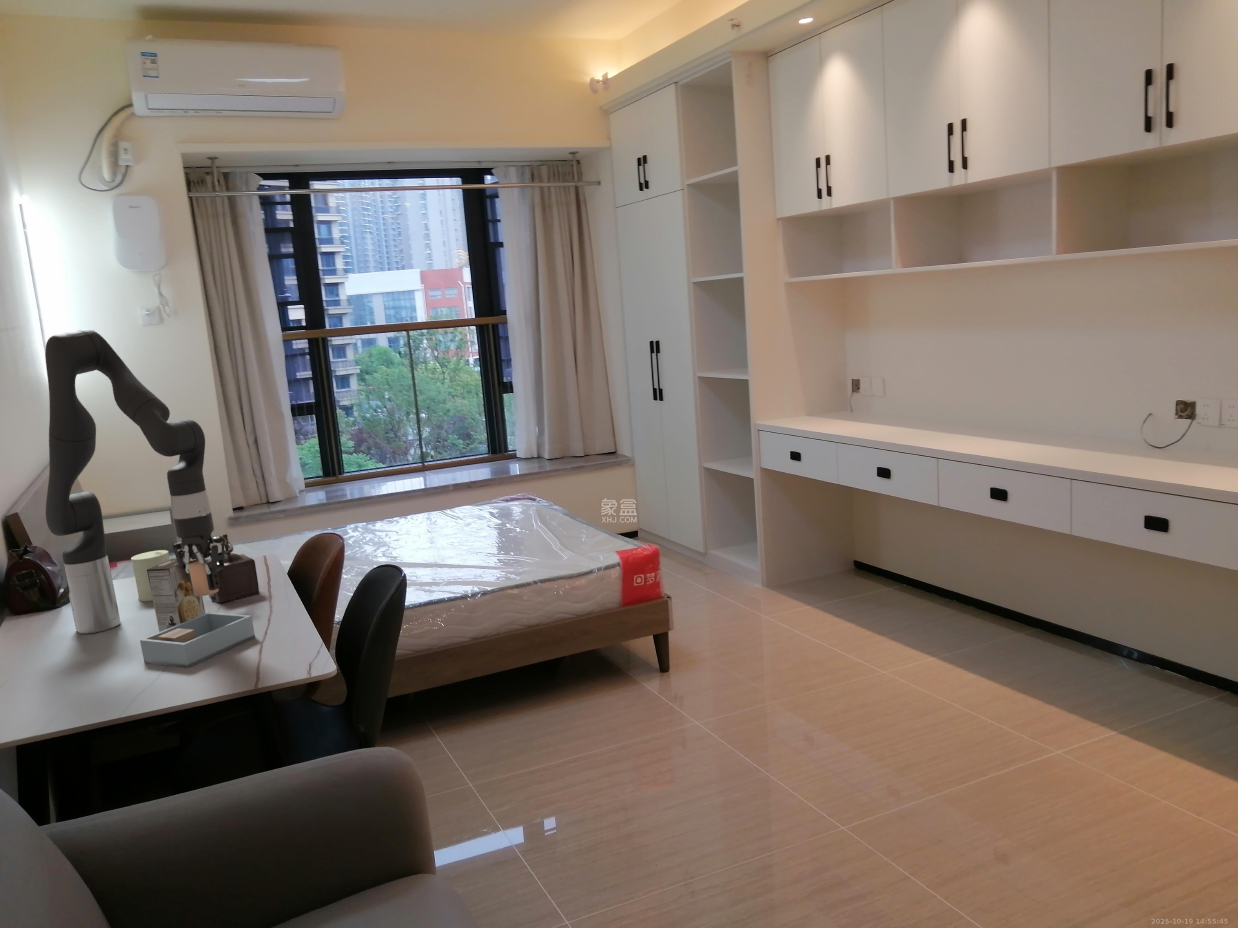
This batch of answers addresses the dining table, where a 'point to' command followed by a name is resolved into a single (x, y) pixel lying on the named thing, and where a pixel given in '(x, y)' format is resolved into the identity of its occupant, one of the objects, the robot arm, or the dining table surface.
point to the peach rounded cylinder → (199, 579)
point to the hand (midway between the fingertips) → (205, 588)
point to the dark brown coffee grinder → (235, 575)
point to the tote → (199, 639)
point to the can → (140, 570)
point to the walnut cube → (178, 635)
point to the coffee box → (173, 595)
